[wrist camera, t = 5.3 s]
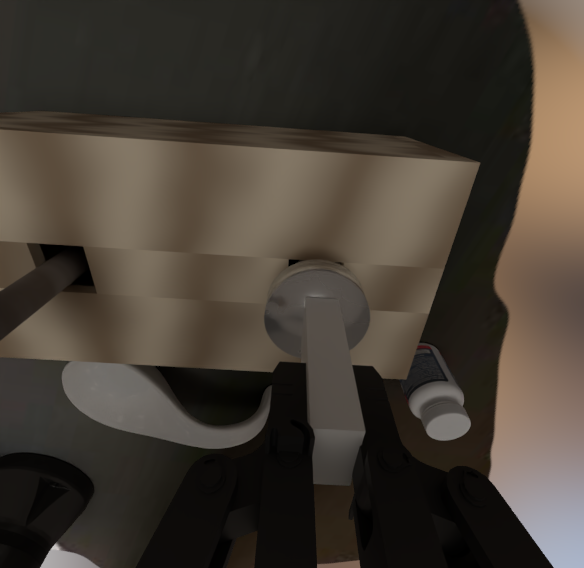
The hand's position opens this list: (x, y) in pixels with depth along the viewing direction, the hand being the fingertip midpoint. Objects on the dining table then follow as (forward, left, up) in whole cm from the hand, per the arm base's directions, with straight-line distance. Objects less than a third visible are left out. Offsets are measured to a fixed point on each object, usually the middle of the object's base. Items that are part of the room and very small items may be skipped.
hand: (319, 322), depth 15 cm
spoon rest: (-14, -22, -16) cm, 31 cm away
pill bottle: (+14, -16, -16) cm, 27 cm away
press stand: (-7, 0, -16) cm, 17 cm away
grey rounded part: (0, 0, -14) cm, 14 cm away
